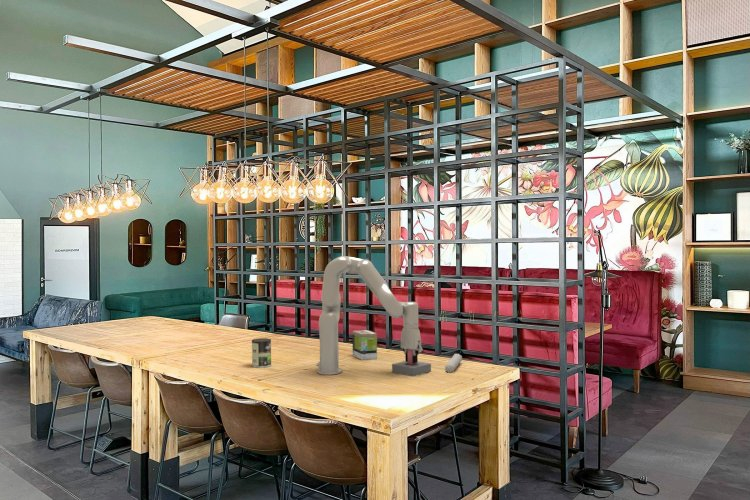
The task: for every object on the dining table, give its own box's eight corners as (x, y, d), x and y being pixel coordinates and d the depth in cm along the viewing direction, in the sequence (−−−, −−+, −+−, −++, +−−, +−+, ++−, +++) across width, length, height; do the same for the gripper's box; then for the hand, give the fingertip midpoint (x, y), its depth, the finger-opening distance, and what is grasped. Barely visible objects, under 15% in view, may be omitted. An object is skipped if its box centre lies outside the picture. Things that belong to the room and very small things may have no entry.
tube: (455, 365, 288) (463, 355, 312) (445, 361, 290) (454, 352, 314) (452, 375, 289) (460, 364, 313) (442, 371, 290) (451, 361, 314)
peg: (406, 368, 293) (405, 344, 292) (411, 367, 296) (410, 343, 295) (412, 369, 290) (411, 345, 290) (417, 368, 293) (416, 344, 293)
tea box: (377, 359, 326) (377, 332, 326) (361, 360, 322) (360, 334, 322) (368, 354, 340) (367, 329, 339) (352, 355, 336) (351, 330, 336)
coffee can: (274, 364, 316) (273, 338, 315) (267, 368, 305) (266, 341, 305) (256, 363, 318) (256, 337, 317) (248, 367, 307) (248, 341, 307)
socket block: (392, 372, 292) (392, 364, 292) (409, 367, 303) (409, 359, 303) (413, 376, 283) (413, 368, 283) (430, 371, 293) (430, 363, 293)
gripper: (393, 325, 295) (394, 361, 296) (419, 328, 284) (419, 365, 284) (403, 324, 301) (403, 359, 301) (428, 327, 289) (429, 363, 290)
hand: (411, 361), depth 293 cm, fingers closed on peg, 4 cm apart
